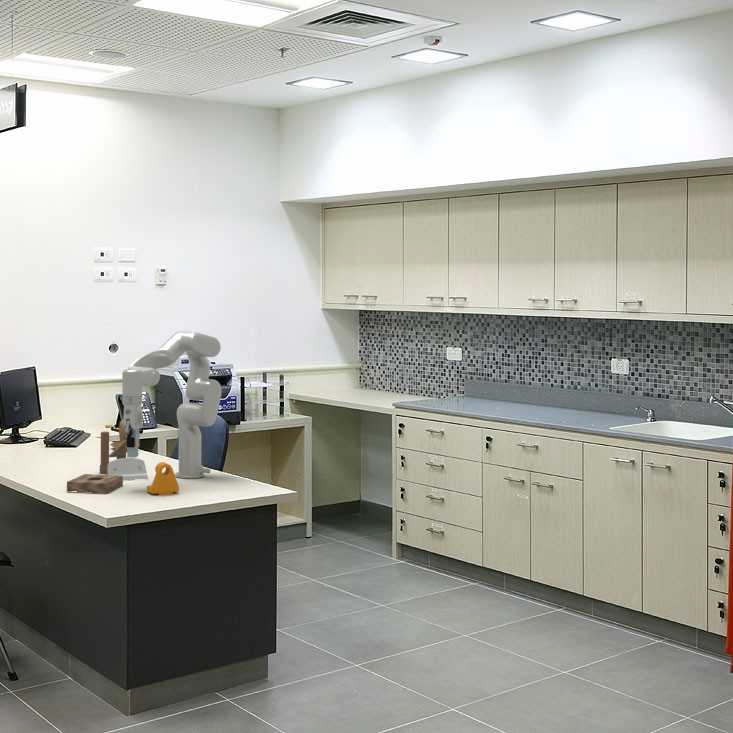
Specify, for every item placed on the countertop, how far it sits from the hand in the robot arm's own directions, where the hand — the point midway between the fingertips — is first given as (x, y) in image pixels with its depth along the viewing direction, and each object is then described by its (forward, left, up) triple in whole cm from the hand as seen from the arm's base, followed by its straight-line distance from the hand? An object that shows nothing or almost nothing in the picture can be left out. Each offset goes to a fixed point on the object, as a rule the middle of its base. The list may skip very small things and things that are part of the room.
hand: (132, 445), depth 402 cm
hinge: (+10, -21, -18) cm, 30 cm away
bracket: (-14, +5, -18) cm, 23 cm away
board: (+14, +3, -17) cm, 23 cm away
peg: (0, 0, -4) cm, 4 cm away
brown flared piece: (+37, -98, -18) cm, 106 cm away
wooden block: (+20, -33, -18) cm, 43 cm away
